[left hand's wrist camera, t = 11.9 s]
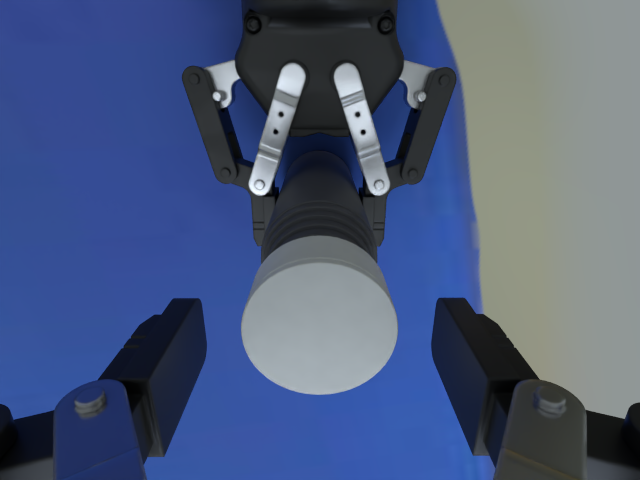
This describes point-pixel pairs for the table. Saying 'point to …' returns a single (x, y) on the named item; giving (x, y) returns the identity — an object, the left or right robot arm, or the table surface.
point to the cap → (319, 316)
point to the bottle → (318, 205)
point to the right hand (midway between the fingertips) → (319, 249)
